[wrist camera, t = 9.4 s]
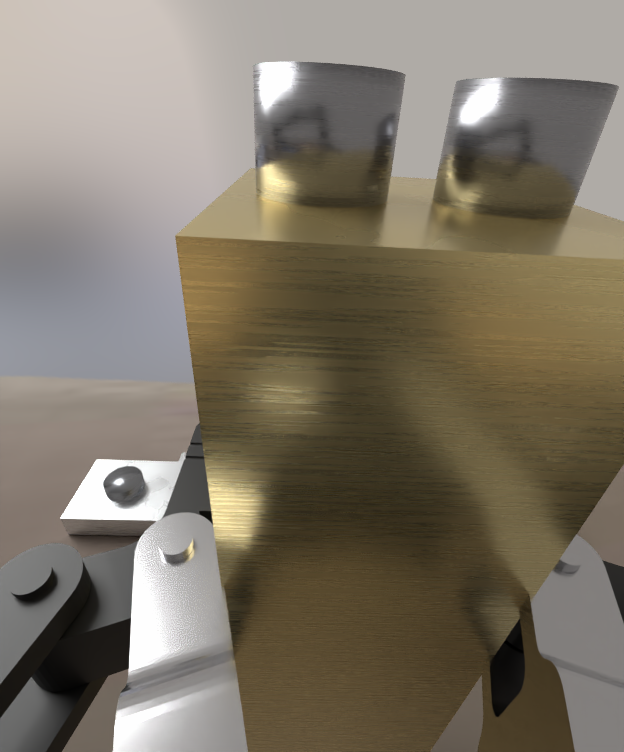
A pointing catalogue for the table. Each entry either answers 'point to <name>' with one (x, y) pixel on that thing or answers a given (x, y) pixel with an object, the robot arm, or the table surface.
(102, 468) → the studded plate chain
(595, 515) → the table surface
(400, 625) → the tall studded toy brick
